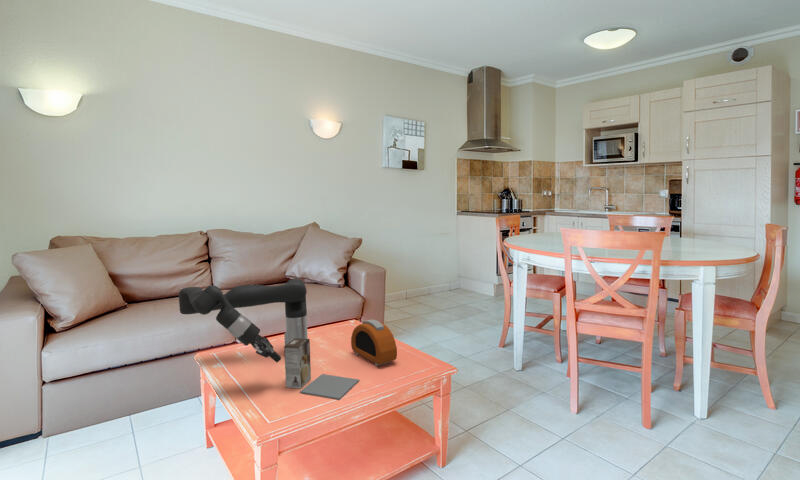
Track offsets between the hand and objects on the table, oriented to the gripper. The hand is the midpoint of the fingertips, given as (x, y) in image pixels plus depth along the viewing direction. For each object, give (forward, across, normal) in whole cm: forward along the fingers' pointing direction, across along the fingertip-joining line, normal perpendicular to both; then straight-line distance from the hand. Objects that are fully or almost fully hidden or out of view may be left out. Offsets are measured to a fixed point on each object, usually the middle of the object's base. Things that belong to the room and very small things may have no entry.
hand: (279, 360), depth 162 cm
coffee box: (+12, -1, -2) cm, 12 cm away
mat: (+20, +5, +6) cm, 21 cm away
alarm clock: (+33, -20, +20) cm, 44 cm away
